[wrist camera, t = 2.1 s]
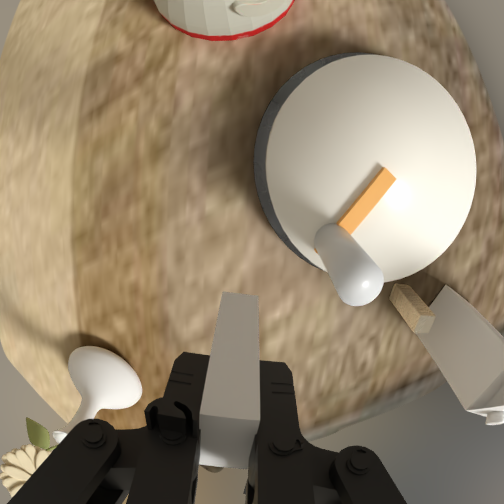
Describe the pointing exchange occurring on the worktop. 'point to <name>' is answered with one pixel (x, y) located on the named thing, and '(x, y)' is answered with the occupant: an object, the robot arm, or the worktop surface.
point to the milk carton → (468, 354)
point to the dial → (370, 171)
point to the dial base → (401, 294)
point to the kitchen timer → (223, 17)
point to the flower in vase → (93, 399)
